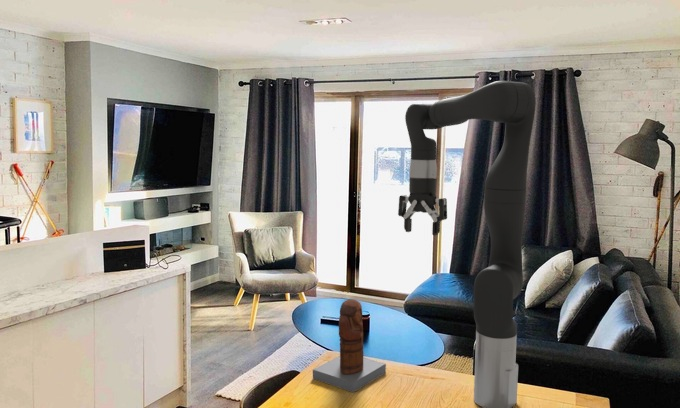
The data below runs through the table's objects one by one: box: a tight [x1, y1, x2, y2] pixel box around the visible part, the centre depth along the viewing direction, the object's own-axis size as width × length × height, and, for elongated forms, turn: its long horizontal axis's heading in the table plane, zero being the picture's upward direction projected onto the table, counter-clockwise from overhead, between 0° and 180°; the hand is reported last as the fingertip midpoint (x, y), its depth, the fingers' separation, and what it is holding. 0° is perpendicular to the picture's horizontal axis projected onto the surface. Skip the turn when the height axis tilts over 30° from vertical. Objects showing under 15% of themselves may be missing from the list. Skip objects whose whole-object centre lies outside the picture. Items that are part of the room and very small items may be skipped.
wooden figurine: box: [338, 299, 364, 374], centre depth 145 cm, size 12×6×18 cm, turn 174°
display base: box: [312, 355, 387, 393], centre depth 147 cm, size 13×15×2 cm
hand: (421, 233), depth 156 cm, fingers open, 8 cm apart
